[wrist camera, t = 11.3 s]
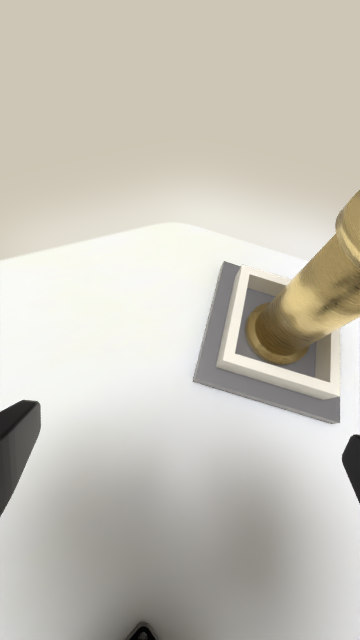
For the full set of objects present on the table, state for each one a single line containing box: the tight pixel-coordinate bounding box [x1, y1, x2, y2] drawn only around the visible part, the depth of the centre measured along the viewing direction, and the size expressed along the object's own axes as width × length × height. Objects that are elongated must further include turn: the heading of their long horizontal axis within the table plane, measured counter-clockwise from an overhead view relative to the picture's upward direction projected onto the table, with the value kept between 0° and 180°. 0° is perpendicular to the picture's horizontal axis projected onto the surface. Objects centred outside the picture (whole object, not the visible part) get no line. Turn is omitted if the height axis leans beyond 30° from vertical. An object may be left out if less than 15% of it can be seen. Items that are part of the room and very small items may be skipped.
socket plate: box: [193, 261, 340, 424], centre depth 23 cm, size 12×12×3 cm
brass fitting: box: [245, 190, 360, 366], centre depth 18 cm, size 6×6×13 cm
